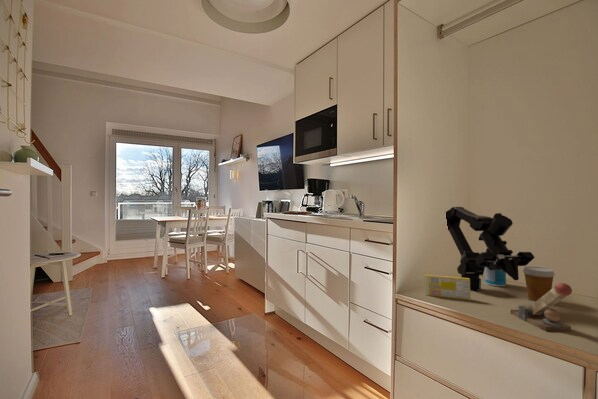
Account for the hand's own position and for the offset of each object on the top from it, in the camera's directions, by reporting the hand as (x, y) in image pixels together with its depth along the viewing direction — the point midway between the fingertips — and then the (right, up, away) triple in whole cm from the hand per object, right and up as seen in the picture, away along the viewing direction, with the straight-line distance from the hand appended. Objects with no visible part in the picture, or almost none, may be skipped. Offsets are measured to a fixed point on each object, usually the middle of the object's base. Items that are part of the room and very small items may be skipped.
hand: (516, 279), depth 100 cm
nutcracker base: (0, -11, -9) cm, 14 cm away
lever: (0, -9, -6) cm, 11 cm away
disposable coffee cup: (+17, -11, +11) cm, 23 cm away
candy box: (-16, -12, +16) cm, 25 cm away
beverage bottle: (+15, -11, +32) cm, 37 cm away
